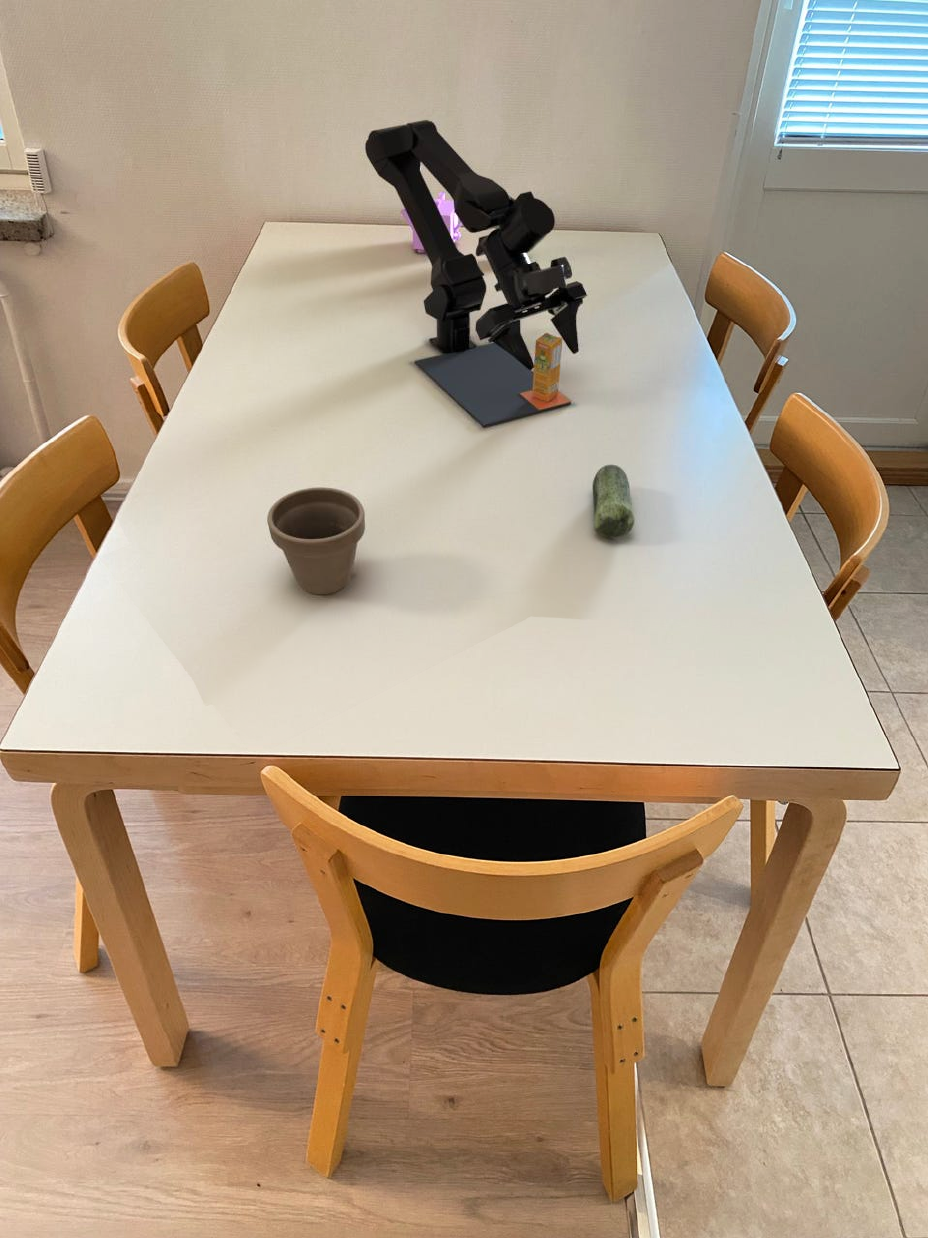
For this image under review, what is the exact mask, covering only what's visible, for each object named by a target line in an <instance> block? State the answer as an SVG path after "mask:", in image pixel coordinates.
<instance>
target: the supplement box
mask: <svg viewBox="0 0 928 1238" xmlns="http://www.w3.org/2000/svg"><path fill="white" fill-rule="evenodd" d="M534 348H535V349H534V361H533V364H534V368H533V372H534V376H533V392H532V397H534V398H537V399H539V400H542V401H545V402H549V401H551V400H552V399H553V398H555V397H556V396H557V395H558V391H559V387H560V374H561V360H562V349H563V339H562V337H561V336H560V337H559V336H555V335H553V334H550V333H548V332H545V333H544V334H542V335H540V336H539V337H538V338H537V339H535V346H534Z"/></svg>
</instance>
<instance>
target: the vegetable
mask: <svg viewBox="0 0 928 1238" xmlns="http://www.w3.org/2000/svg"><path fill="white" fill-rule="evenodd" d="M592 498H593V499H592V501H593V513H594V514H593V515H594V516H593V527H594V530H595V531H596V533H597V534H598V535H600V536H602V537H604V538H609V539H610V538H611V539H616V538H620V537H623V536H625V535H628V533H630V532H631V531H632V529H633V527H634V524H635V516H634V511H633V506H632V497H631V487H630V482H629V479H628V476H627V474H626V472H625V470H624V469H623V468H621V466H619V465H615V464H607V465H604V466H601V468H599V469H598V471H597V472H596V474H595V476H594V478H593V481H592Z"/></svg>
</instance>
